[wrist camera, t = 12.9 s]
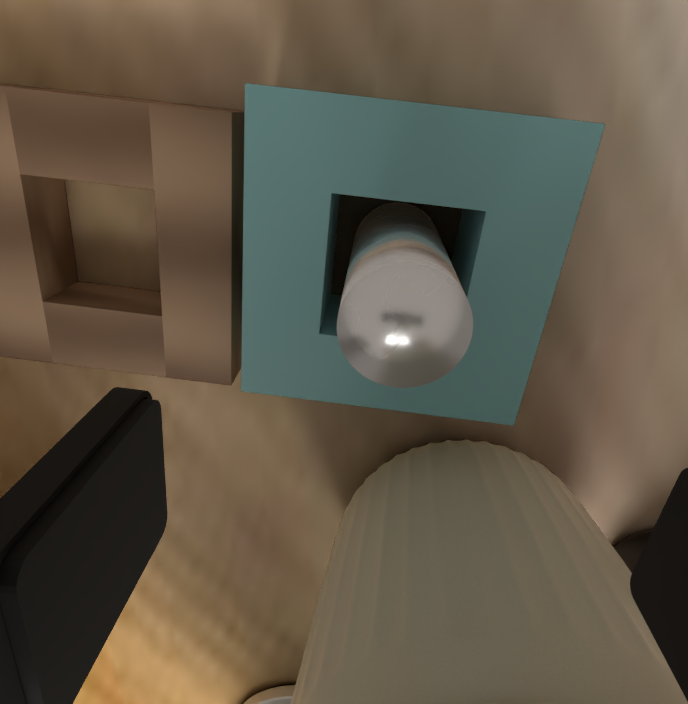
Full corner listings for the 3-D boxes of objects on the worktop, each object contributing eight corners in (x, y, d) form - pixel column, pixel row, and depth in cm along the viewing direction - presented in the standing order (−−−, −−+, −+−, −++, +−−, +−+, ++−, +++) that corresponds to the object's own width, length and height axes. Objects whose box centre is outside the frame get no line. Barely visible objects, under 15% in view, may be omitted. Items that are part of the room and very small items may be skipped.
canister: (678, 498, 29) (1231, 1230, 10) (466, 648, 36) (557, 1244, 17) (436, 322, 25) (588, 952, 6) (253, 528, 32) (70, 1115, 14)
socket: (491, 371, 26) (514, 425, 22) (265, 343, 26) (241, 391, 22) (558, 120, 21) (605, 123, 16) (274, 88, 21) (244, 83, 17)
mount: (246, 357, 27) (231, 385, 24) (28, 330, 27) (-11, 354, 25) (250, 111, 22) (231, 112, 19) (-21, 81, 22) (-77, 77, 19)
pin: (430, 290, 25) (458, 395, 16) (349, 281, 25) (330, 379, 16) (445, 207, 23) (486, 271, 14) (358, 197, 23) (343, 255, 14)
